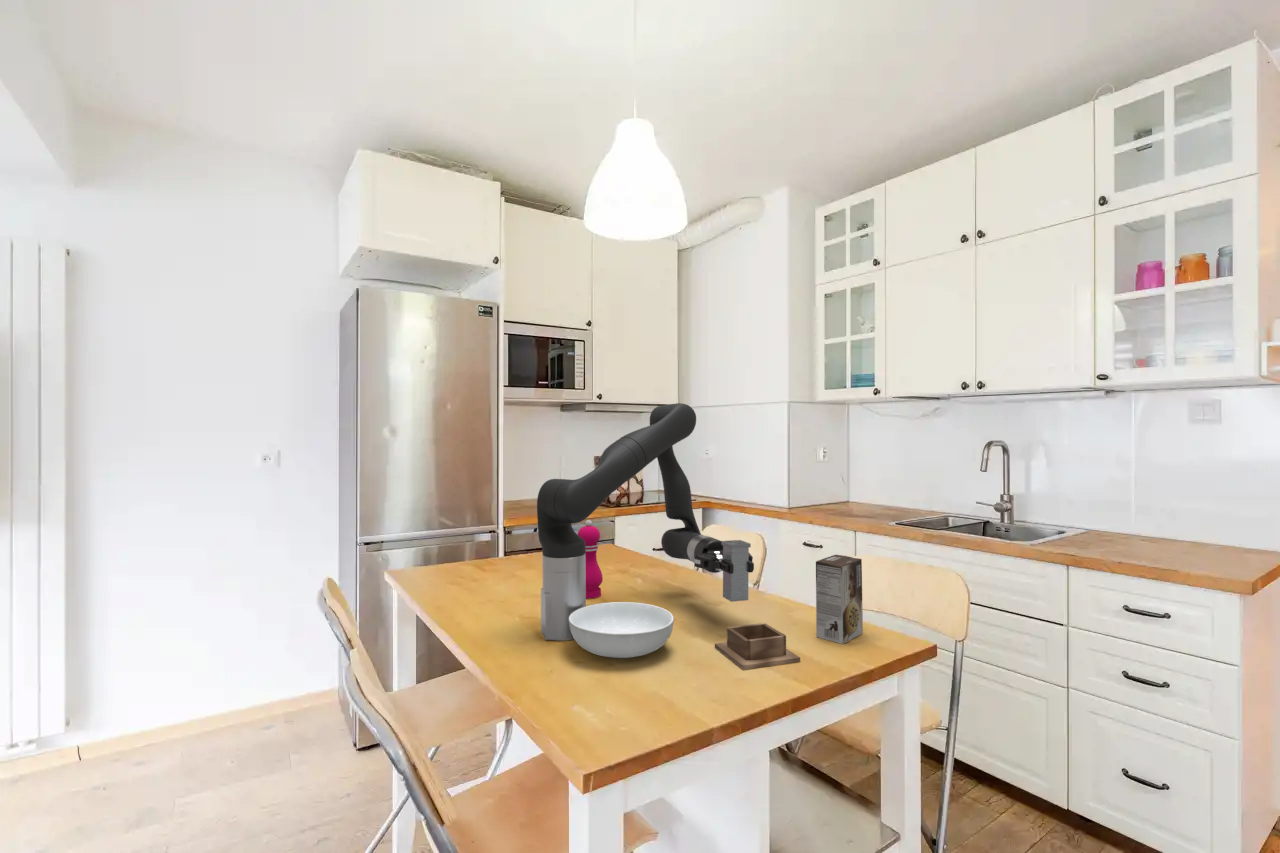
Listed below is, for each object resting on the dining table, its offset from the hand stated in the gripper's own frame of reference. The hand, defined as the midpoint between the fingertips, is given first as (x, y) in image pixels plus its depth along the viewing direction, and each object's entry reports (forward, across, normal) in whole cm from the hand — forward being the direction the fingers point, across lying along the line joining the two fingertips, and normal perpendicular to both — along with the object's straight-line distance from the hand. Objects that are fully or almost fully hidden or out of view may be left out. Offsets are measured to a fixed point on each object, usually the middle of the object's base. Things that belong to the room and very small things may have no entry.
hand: (741, 568), depth 128 cm
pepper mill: (-43, -22, +15) cm, 51 cm away
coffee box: (+5, +20, +15) cm, 26 cm away
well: (+9, -2, +15) cm, 17 cm away
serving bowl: (-2, -26, +16) cm, 30 cm away
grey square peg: (-3, 0, +7) cm, 8 cm away
